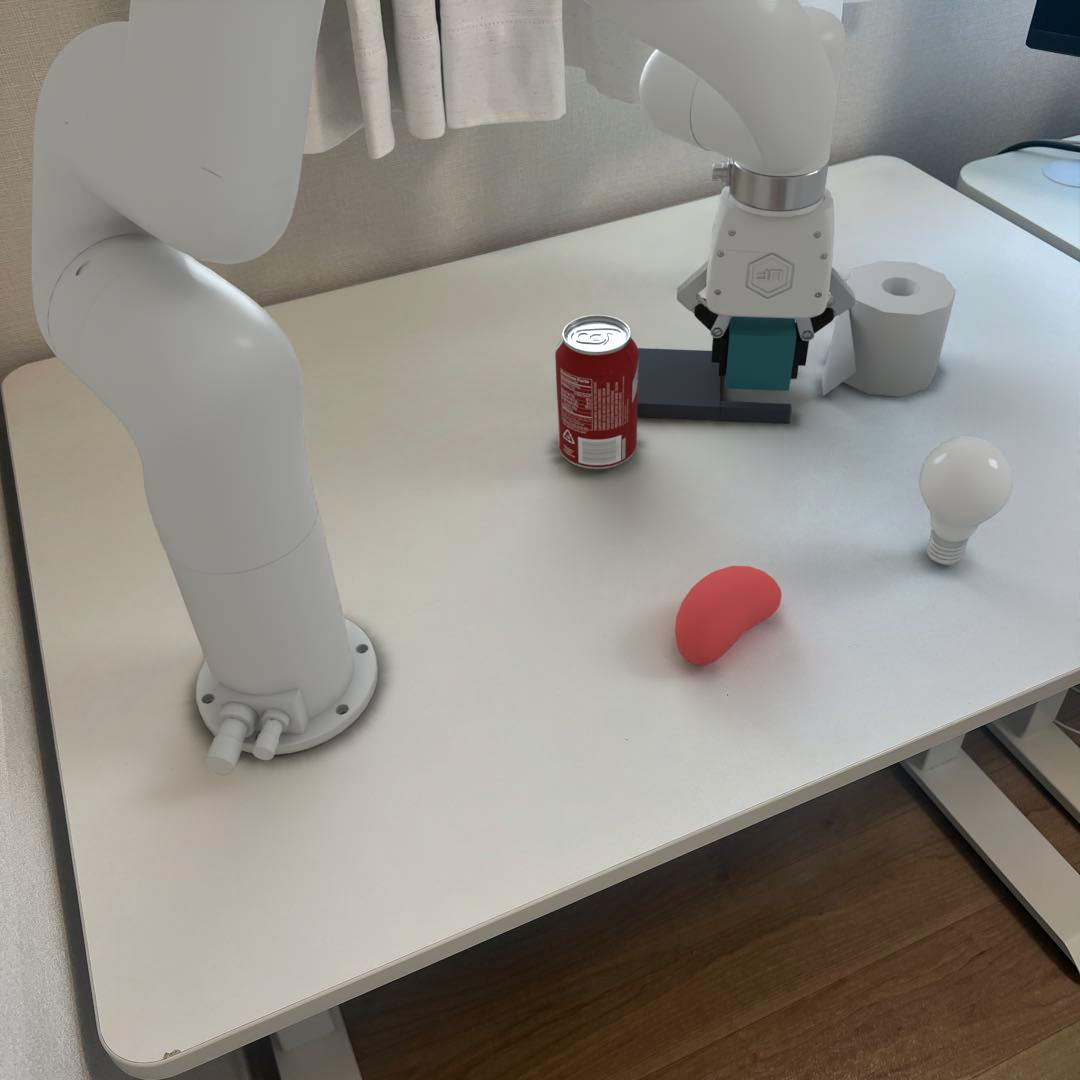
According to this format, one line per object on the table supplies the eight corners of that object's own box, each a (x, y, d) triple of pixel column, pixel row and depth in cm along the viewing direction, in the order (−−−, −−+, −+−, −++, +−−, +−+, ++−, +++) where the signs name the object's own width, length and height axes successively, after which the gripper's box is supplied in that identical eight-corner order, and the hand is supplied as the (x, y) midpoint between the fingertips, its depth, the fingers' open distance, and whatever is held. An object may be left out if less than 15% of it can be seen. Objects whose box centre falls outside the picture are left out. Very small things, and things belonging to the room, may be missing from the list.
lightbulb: (883, 544, 86) (910, 431, 79) (952, 522, 88) (985, 410, 80) (932, 597, 82) (965, 484, 74) (1003, 574, 83) (1043, 460, 76)
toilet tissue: (806, 402, 100) (818, 320, 94) (852, 331, 108) (866, 252, 103) (905, 430, 97) (924, 346, 91) (945, 354, 105) (965, 273, 99)
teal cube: (789, 391, 98) (796, 337, 94) (725, 388, 98) (730, 335, 95) (787, 356, 102) (793, 303, 98) (725, 353, 102) (730, 301, 99)
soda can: (630, 479, 93) (632, 359, 85) (552, 471, 94) (547, 352, 86) (641, 431, 98) (644, 313, 90) (566, 424, 99) (563, 307, 91)
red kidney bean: (652, 632, 82) (649, 612, 76) (744, 556, 83) (748, 530, 77) (698, 685, 80) (698, 669, 74) (792, 607, 81) (799, 585, 75)
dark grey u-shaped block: (789, 423, 98) (791, 410, 97) (588, 414, 100) (588, 401, 99) (786, 366, 104) (787, 353, 103) (597, 359, 107) (597, 346, 106)
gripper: (667, 198, 86) (659, 389, 98) (893, 202, 84) (857, 397, 96) (671, 157, 91) (663, 343, 104) (884, 160, 89) (850, 349, 102)
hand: (757, 367), depth 100 cm, fingers closed on teal cube, 5 cm apart
